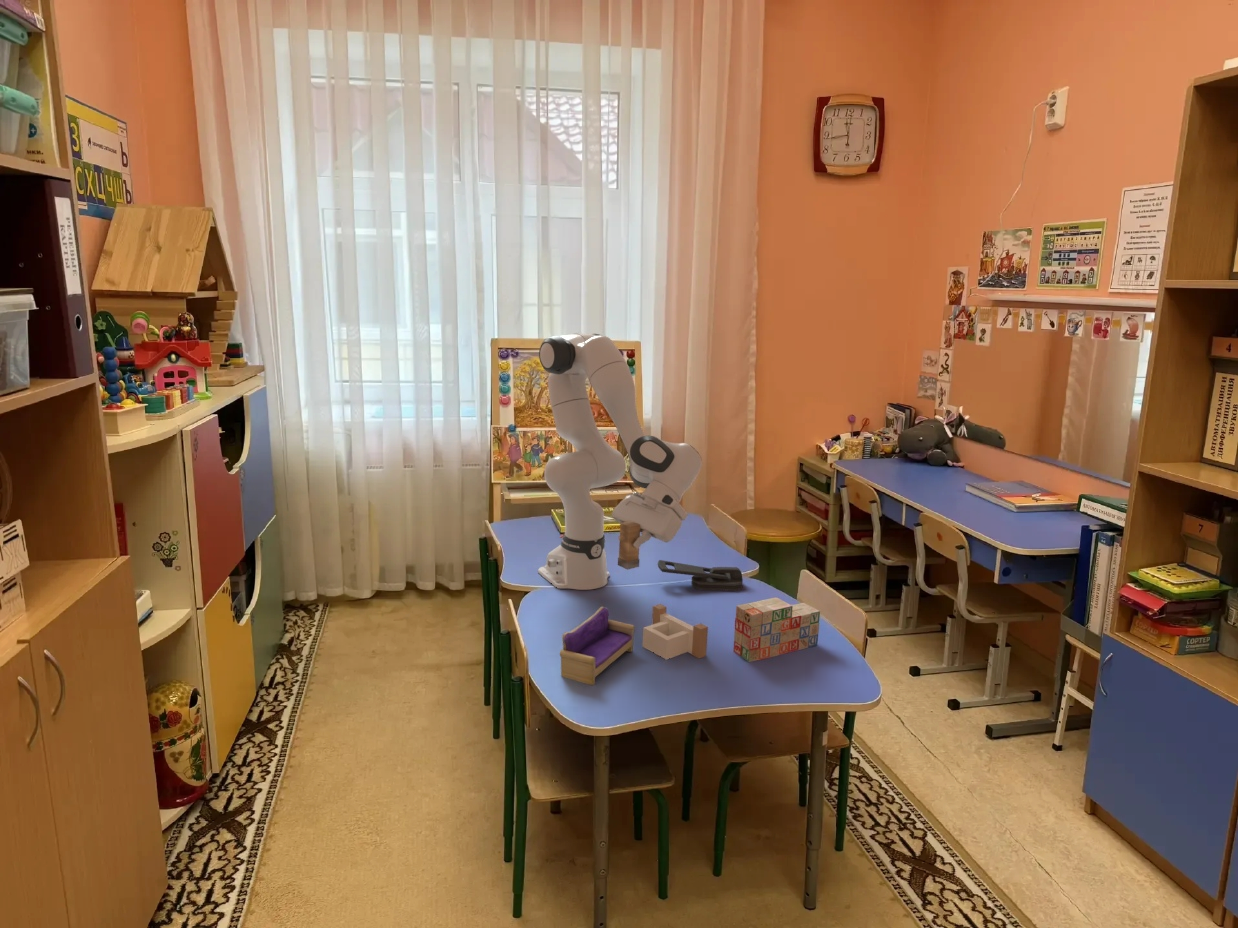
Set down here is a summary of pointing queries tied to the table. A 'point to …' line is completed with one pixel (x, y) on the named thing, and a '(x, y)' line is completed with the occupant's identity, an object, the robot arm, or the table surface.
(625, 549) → the wooden block
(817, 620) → the stack of blocks
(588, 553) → the robot arm
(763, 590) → the table surface
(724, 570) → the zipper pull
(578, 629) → the toy sofa
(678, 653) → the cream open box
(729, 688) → the table surface
